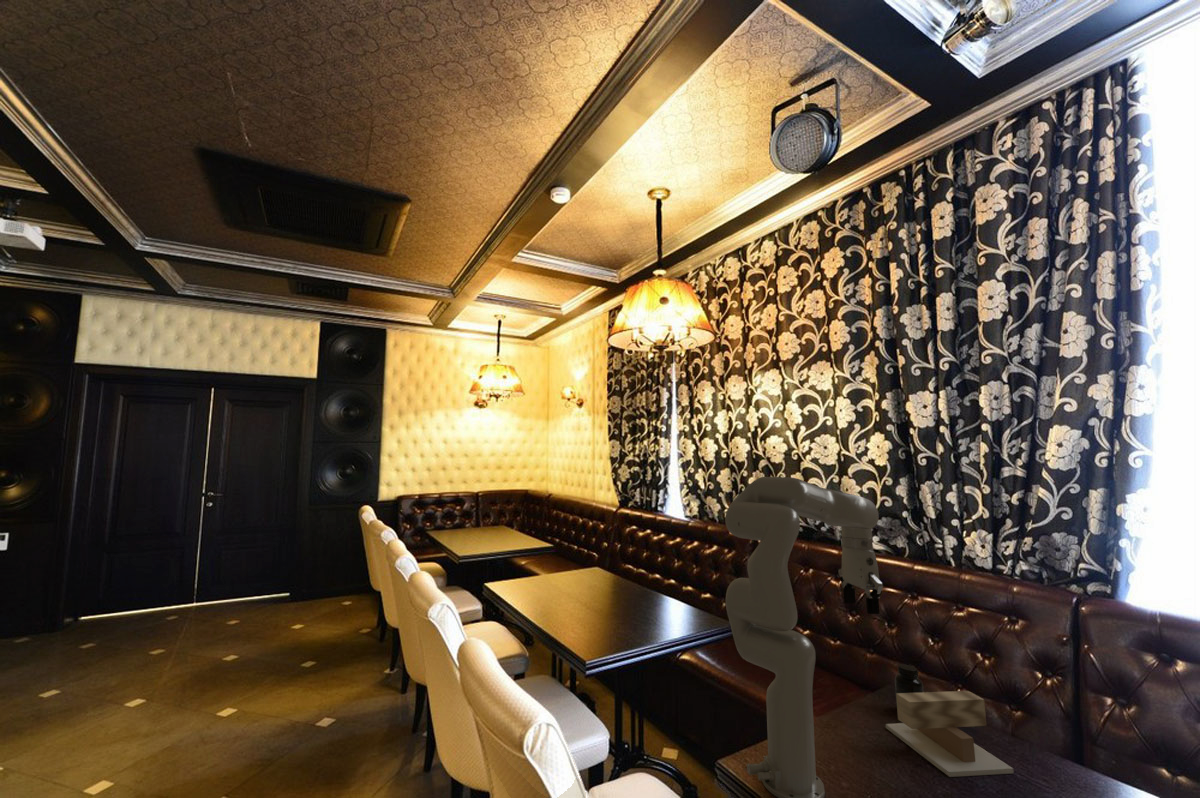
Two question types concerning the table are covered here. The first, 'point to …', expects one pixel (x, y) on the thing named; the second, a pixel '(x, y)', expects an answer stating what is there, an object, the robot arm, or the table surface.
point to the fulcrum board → (948, 758)
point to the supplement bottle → (907, 680)
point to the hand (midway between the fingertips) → (861, 608)
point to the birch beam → (941, 709)
